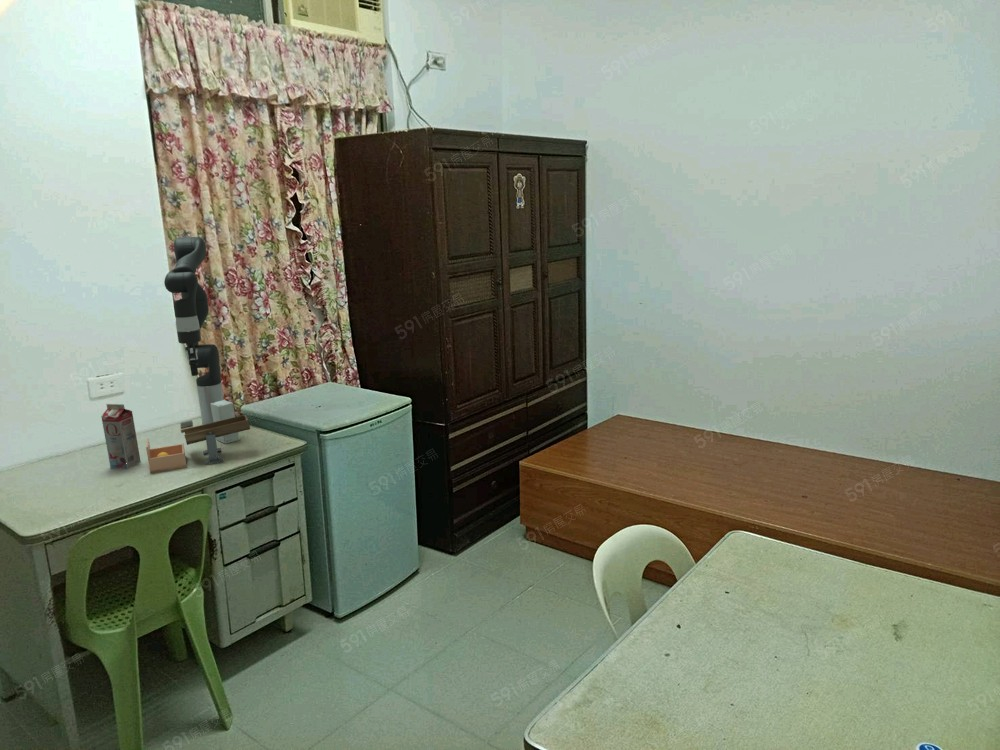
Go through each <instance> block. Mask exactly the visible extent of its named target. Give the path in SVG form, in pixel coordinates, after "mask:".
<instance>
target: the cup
mask: <svg viewBox="0 0 1000 750" xmlns="http://www.w3.org/2000/svg"><path fill="white" fill-rule="evenodd" d="M145 445H146V446H145V448H146V449H145V450H146V455H147V462H148V469H149V473H150V474H154V473H159V472H166V471H171V470H177V469H183V468H184V469H185V468H187V457H186V451H185V444H184V443H180V444H174V445H169V446H162V447H156V448H155V447H154V448H151V444H150V439H149V438H146V444H145ZM161 452H166V453H167V454H168V455H167V456H161V457H157V455H158V454H159V453H161Z"/></svg>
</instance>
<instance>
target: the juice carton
mask: <svg viewBox="0 0 1000 750" xmlns="http://www.w3.org/2000/svg"><path fill="white" fill-rule="evenodd" d="M133 415H134V414H133V410H130V409H127V408H125V404H123V403H122V404H117V403H106V409H105V411H104V412H103V413H102V415H101V422H102V429H103V433H104V440H105V445H106V449H107V455H108V461H109V467H110V469H120V468H121V469H122V470H123V469H125V470H128V469H129V468H130V469H131V467H134V466H136V465H138V464H139V462H140V463H141V462H142V461H141V456H140V450H139V449H140V448H139V444H138V439H137V433H136V427H135V422H134V420H135V419H134V416H133ZM126 463H127V464H126ZM121 469H120V470H121Z"/></svg>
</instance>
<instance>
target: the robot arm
mask: <svg viewBox="0 0 1000 750" xmlns="http://www.w3.org/2000/svg"><path fill="white" fill-rule="evenodd" d="M173 251H174V255H175V256H174V257H175V262H176V264H175V266H174V267H173V268H172V269H171V270H170V271H168V273H167V274H166V275H165V277H164V287H165V289H166V290H167V292H169V293H172V294H180V293H181V299H177V300H175V301H174V303H173V309H174V314H175V315H174V316H175V328H176V329H175V330H176V335H177V340H178V343H179V344H182V345H184V344H185V346H184V351H185V354H186V359H187V361H188V364H189V368H190V373H191V376H192V377H196V376H198V377H197V378H195V380H196V381H195V383H196V388H197V389H196V390H197V396H198V403H199V408H200V409H199V410H200V416H201V422H202V423H201V425H204V424H208V423H213V422H214V421H213V416H212V410H211V405H210V404H211V403H214V402H218V401H222V400H225V399H224V393H223V385H222V384H223V383H222V378H221V377H222V373H221V363H220V352H219V348H218V347H217V345H216V344H211V343H210V344H199V342H201V341H202V336H201V329H202V327H203V325H204V323H205V321H206V320H207V318H208V315H209V311H210V308H209V301H208V293H206V291H205V289H204V288H203V287H202V285H200V283H199V280H198V276H197V275H196V273H197V270H198V269H199V267H200V266H201V264H202V263H203V262H204V260H205V259H206V257H207V246H206V242H205V240H204V239H203V238H202V237H200V236H184V237H181V236H180V237H176V238H175V239H174V241H173ZM206 368H208V372H207V373H205V374H203V375H200V376H199V370H198V369H206Z"/></svg>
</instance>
